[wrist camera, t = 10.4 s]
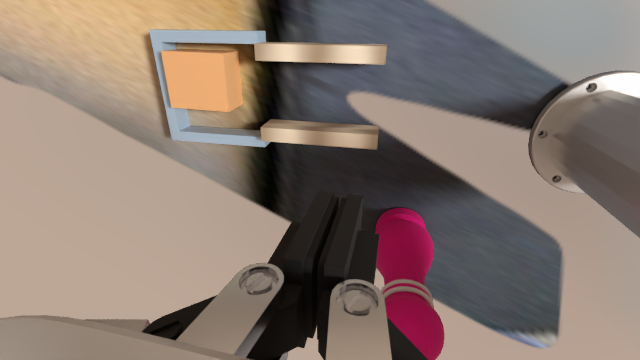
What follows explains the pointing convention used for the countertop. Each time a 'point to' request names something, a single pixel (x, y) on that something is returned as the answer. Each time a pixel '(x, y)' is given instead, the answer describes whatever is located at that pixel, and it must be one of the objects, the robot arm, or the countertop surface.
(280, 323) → the robot arm
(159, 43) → the bay
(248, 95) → the countertop surface
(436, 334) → the pepper mill
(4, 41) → the countertop surface
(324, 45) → the pair of wooden slats
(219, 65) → the block
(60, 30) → the countertop surface
